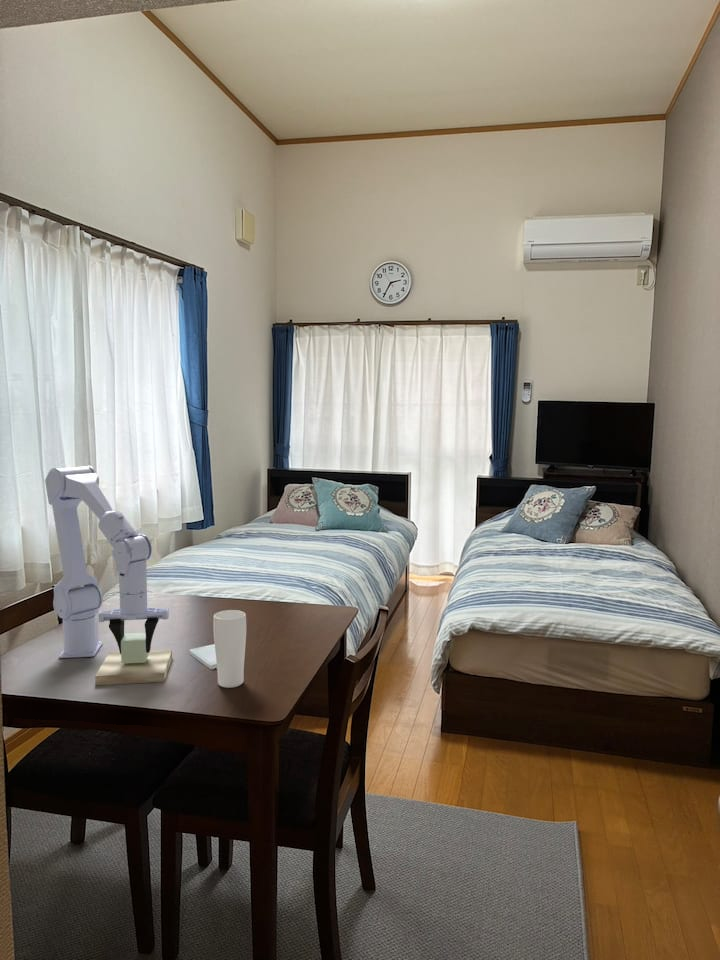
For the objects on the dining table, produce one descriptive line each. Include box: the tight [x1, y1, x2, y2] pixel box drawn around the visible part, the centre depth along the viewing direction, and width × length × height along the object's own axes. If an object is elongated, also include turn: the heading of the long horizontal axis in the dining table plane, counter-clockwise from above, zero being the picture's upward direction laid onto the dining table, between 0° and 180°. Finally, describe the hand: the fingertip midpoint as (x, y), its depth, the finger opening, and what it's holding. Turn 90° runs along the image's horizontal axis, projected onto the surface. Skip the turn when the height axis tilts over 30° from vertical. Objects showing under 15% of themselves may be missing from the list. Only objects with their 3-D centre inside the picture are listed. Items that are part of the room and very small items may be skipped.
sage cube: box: [121, 632, 149, 664], centre depth 153 cm, size 5×5×5 cm
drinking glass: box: [212, 609, 247, 689], centre depth 146 cm, size 7×7×15 cm
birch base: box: [94, 649, 173, 686], centre depth 154 cm, size 14×14×2 cm
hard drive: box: [188, 643, 217, 670], centre depth 162 cm, size 2×8×12 cm
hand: (135, 651), depth 153 cm, fingers closed on sage cube, 5 cm apart
